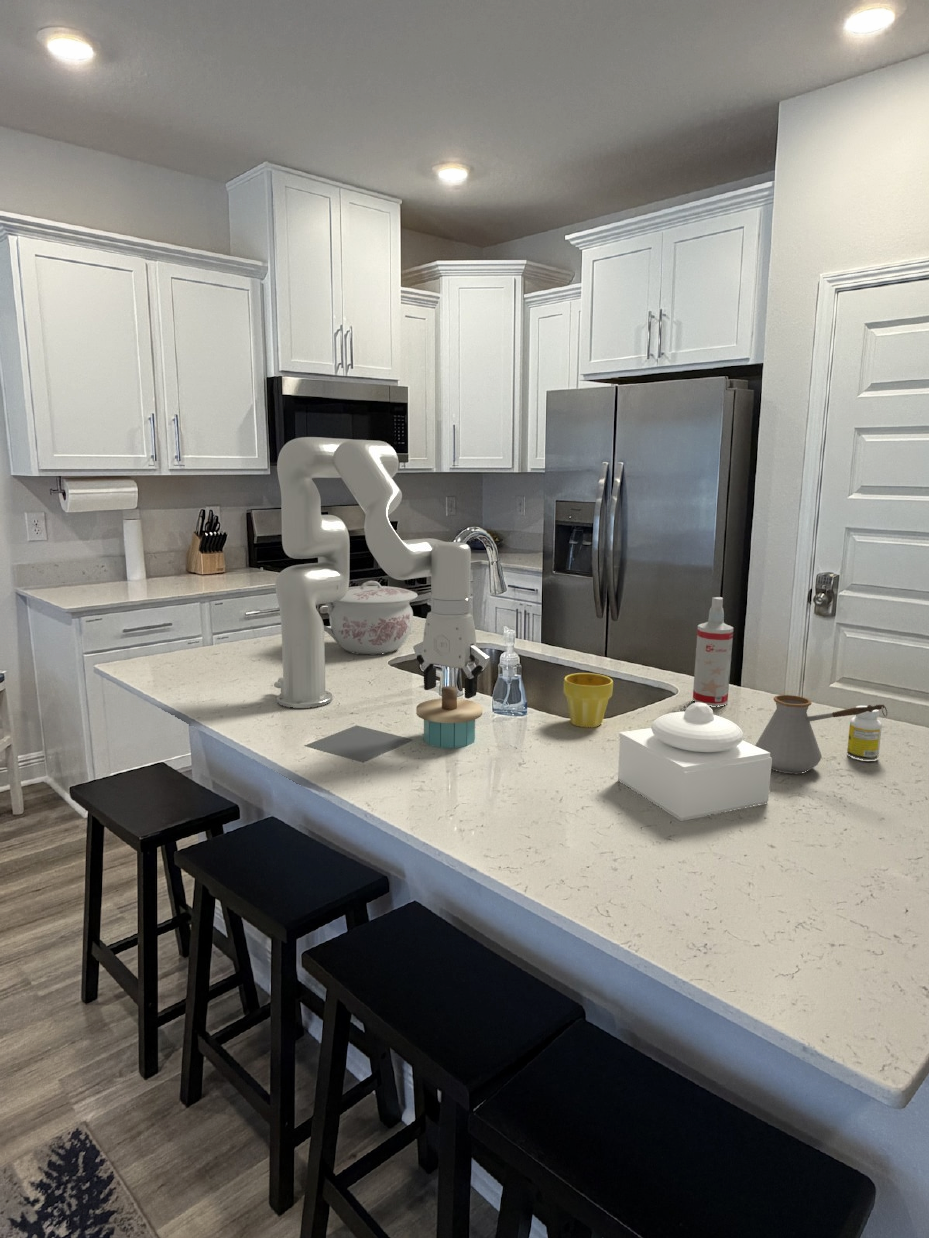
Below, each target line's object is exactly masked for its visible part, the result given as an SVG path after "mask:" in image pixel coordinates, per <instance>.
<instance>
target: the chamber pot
mask: <svg viewBox="0 0 929 1238" xmlns="http://www.w3.org/2000/svg"><path fill="white" fill-rule="evenodd" d="M418 596H419V595H418V593H417V592H416V591H412V590H409V589H407V588H402V587H396V586H389V585H387V586H386V585H381V584H380V583H379V582H378V581H375V580H368V581H364V582H363V583H362V584H361V585H358V586H357V585H356V586H349V587H348V591H347V593H346V595H345V596H344V597H343V598H342V599H341V600H339V601H335V602H331V603H325V604H324V605H326V607H327V614H328V615H329V617H328V619H329V625H330V627H329V626H327V625H324V632H326V633H327V634H329V636H331V638H332V639H333V640H334V641H335V642H336V643H337V644H339V646H340V647H341V648H342V649H343V650H344V651H347V652H350V653H352V652H354V653H353V654H356V653H359V654H358V655H362V654H379V655H383V654H382V653H386V654H389V653H392V652H395V651H397V650H399V649H400V648H402V646H403V645H404V643H406V641H407V639H408V637H409V635H410V634H411V631H412V626H413V622H414V620H413V619H414V611H413V608H412V607H411V605H410V602H411V601H413V600H414V599H416V598H417V597H418ZM315 606H316V607H317V605H315ZM394 650H395V651H394ZM388 652H389V653H388Z"/></svg>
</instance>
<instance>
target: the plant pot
mask: <svg viewBox="0 0 929 1238" xmlns="http://www.w3.org/2000/svg"><path fill="white" fill-rule="evenodd" d="M613 689H614V680H613V679H612V678H611V677H609V676H607V675H603V674H598V673H593V672H592V673H591V672H577V673H571V674H568V675H565V677H564V678H563V694H564V696H566V701H567V706H568V712H569V713H568V714H569V717H570V718H569V719H570V723H571V724H572V725H574V726H577V727H579V726H580V728H588V727H589V728H590V727H591V728H597V726H598V727H600V726H601V725H602V724H601V723H603V720H604V716H605V712H606V709H607V707H608V702H609V700H610V699H611V697H612V696H613V692H614V691H613ZM600 724H601V725H600ZM599 725H600V726H599Z"/></svg>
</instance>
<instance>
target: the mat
mask: <svg viewBox="0 0 929 1238" xmlns="http://www.w3.org/2000/svg"><path fill="white" fill-rule="evenodd" d="M412 741H414V739H413V738H409V737H404V736H402V735H396V734H393V733H389V732H385V731H380V730H377V729H372V728H369V727H365V726H361V725H357V724H356V725H354V726H352V727H349V728H346V729H343V730H341V731H339V732H336V733H333V734H329V735H327V736H325V737H323V738H320V739H318V740H315V741H313V742H310V743H307V744H304V745H303V746H304V747H307V748H310V749H315V750H318V751H320V752H321V751H322V752H325V753H328V754H332V755H336V756H339V757H343V758H346V759H350V760H354V761H357V762H361V763H365V762H367V761H370V760H372V759H374V758H377V757H379V756H381V755H383V754H385V753H388V752H390V751H392V750H394V749H396V748H399V747H402V746H404V745H405V744H407V743H410V742H412Z"/></svg>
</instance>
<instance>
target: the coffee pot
mask: <svg viewBox="0 0 929 1238" xmlns="http://www.w3.org/2000/svg"><path fill="white" fill-rule="evenodd" d="M773 701H774V702H775V706H776V709H775V711H774V713H773V714H772V716H771V717H770V719H769V720H768V722H767V724H766V726H765V728H764V730H763V731H762V733H761V735H760V737H758V740H757V742H756V743H755V745H754V746H756V747H759V748H761V749H763V750H765V751H767V752H770V757H771V758H772V765H771V769H773V770H772V771H774V770H777V771H780V772H779V773H781V772H784V773H783V774H787V773H802V772H805V771H807V770H809V771H810V770H812V769H813V768H815V767H816V766H818V764H819V763H820V762H821V760H822V754H821V750H820V747H819V744H818V742H817V741H818V740H817V739H816V736H815V733H814V730H813V727H812V724H811V722H814V721H820V720H825V719H830V718H840V717H849V716H856V715H857V714H860V713H864V712H867V711H869V712H872V711H873V710H879V711H881V713H882V715H883V716H884V717H888V709H887V707H886V706H885V705H884V704H875V705H871V704H869V705H866V706H867V707H856V706H855V707H851V708H847V709H842V710H841V709H840V710H837V711H833V712H829V713H822V714H816V715H810V716H809V715H808V713H807V712H808V709H809V707H810V706H811V705H812V700H810V699H809V698H806V697H802V696H799V695H791V694H779V695H774V697H773ZM884 709H885V712H884ZM777 771H776V772H777Z"/></svg>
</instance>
